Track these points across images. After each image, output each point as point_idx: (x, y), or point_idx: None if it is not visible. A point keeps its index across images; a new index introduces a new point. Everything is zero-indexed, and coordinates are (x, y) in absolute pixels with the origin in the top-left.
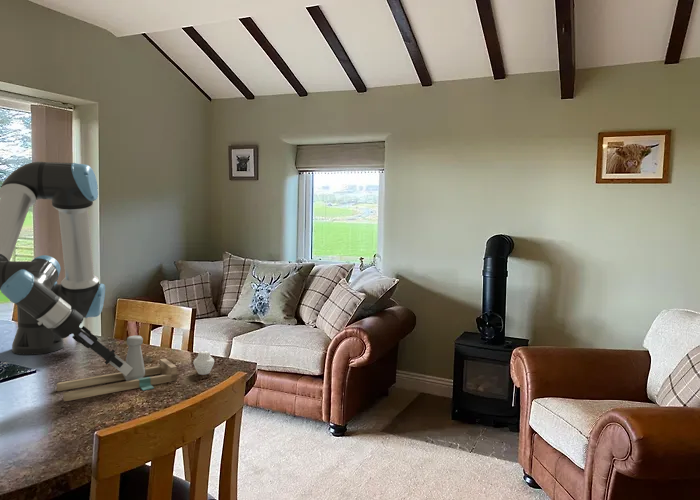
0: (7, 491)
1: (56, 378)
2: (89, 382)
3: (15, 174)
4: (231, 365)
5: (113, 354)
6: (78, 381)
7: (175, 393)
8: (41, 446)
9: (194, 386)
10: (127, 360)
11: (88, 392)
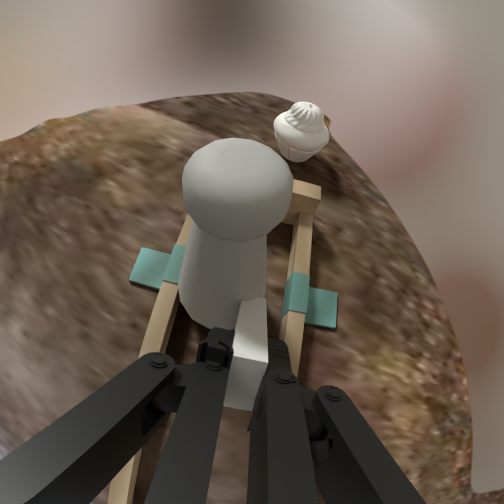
0: None
1: (4, 437)
2: None
3: None
4: (281, 109)
5: (348, 403)
6: (131, 474)
7: (398, 274)
8: None
9: (373, 218)
10: (227, 292)
11: None
